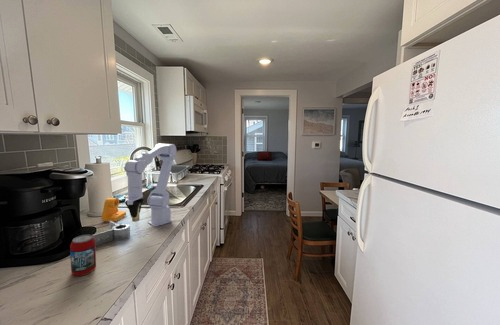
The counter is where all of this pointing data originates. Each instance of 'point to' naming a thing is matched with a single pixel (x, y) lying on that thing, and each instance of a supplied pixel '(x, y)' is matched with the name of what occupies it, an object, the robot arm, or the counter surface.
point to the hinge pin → (136, 217)
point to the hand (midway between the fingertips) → (135, 215)
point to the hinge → (112, 233)
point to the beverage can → (83, 255)
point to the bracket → (112, 210)
